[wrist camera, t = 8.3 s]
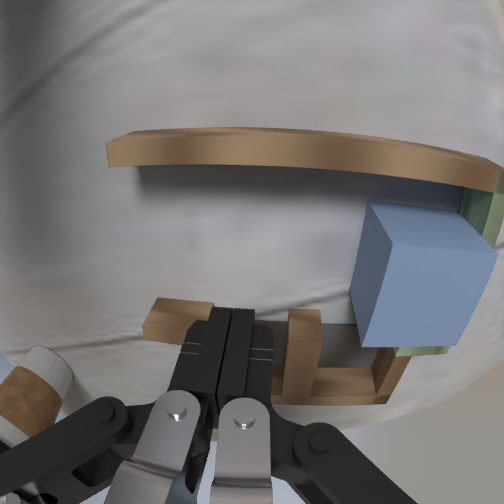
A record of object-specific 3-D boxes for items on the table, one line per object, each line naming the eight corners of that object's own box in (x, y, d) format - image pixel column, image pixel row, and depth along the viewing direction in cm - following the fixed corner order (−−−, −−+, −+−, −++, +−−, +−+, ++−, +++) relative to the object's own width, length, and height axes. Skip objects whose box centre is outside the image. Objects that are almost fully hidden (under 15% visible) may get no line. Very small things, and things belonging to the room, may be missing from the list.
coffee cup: (64, 344, 26) (-6, 465, 13) (93, 394, 30) (46, 500, 17) (13, 330, 27) (-53, 426, 14) (43, 378, 31) (-6, 467, 18)
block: (367, 200, 16) (393, 244, 12) (456, 211, 16) (498, 254, 11) (348, 289, 19) (361, 347, 15) (430, 293, 19) (455, 345, 14)
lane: (172, 362, 25) (162, 389, 22) (133, 131, 15) (105, 143, 13) (409, 373, 23) (417, 401, 20) (485, 158, 14) (514, 174, 11)
